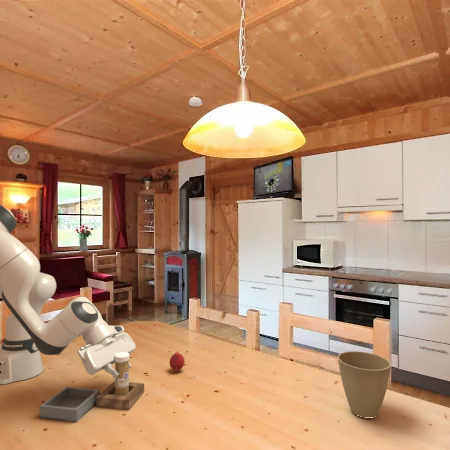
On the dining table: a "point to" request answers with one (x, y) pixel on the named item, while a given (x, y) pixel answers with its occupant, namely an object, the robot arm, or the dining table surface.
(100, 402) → the collar block
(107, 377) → the dining table surface
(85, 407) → the tray
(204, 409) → the dining table surface
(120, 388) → the sprinkles bottle
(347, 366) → the plant pot
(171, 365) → the onion
